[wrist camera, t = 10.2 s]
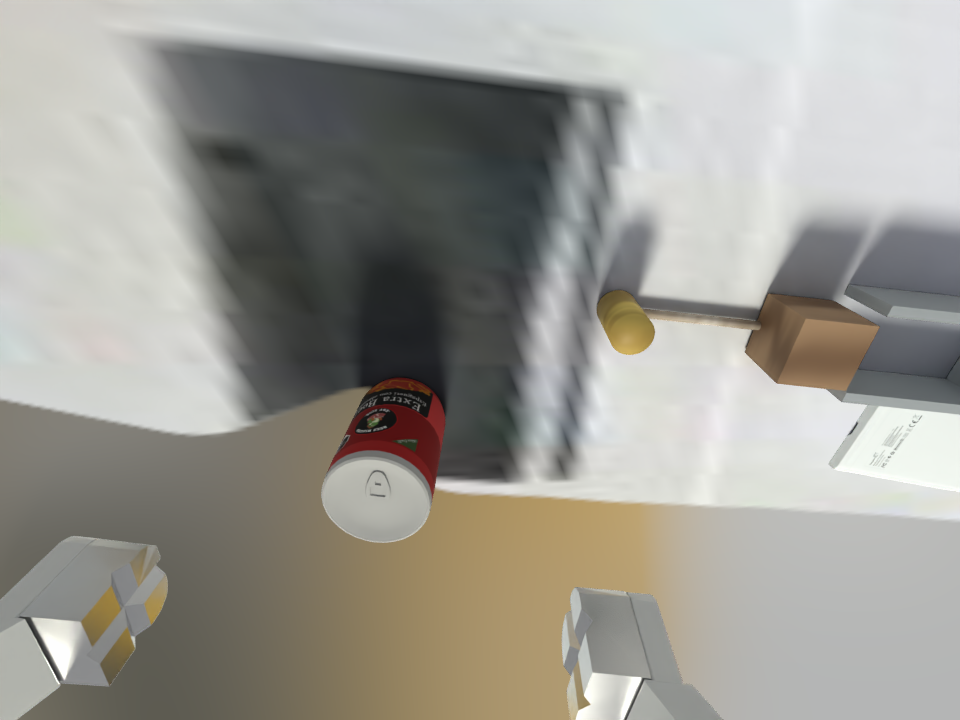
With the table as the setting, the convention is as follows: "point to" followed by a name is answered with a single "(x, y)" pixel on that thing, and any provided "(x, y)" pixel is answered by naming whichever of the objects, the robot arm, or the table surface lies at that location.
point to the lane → (903, 389)
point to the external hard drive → (904, 447)
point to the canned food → (387, 463)
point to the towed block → (763, 336)
